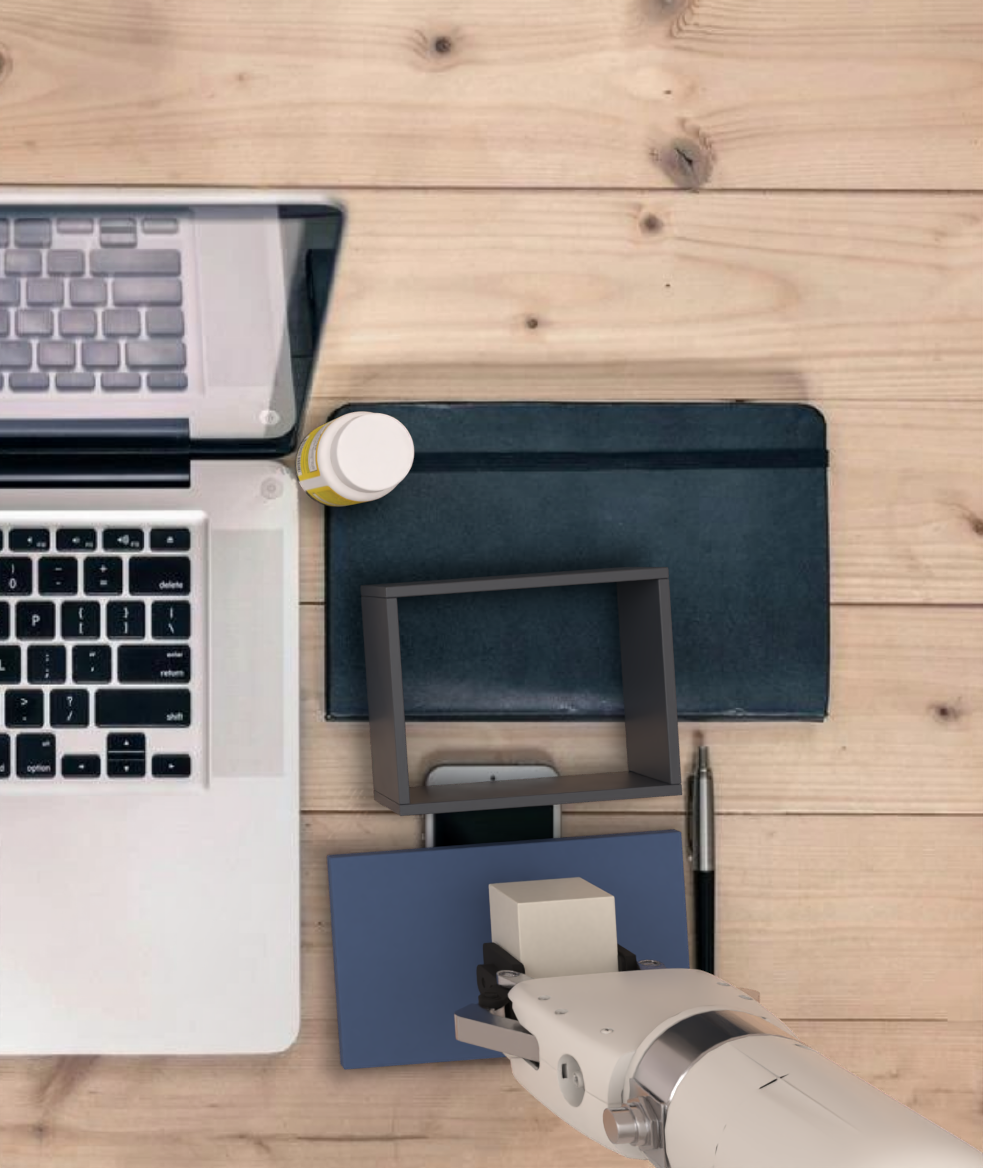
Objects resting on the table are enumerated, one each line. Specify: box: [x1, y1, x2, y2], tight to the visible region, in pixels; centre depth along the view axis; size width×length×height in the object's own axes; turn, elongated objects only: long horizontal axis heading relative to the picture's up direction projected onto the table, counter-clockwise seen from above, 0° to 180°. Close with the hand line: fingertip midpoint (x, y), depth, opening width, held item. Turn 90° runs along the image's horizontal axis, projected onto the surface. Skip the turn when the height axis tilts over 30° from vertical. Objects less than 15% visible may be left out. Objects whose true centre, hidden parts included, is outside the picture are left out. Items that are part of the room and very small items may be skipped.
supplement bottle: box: [294, 411, 415, 508], centre depth 71 cm, size 5×5×8 cm
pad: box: [326, 828, 691, 1071], centre depth 75 cm, size 12×20×2 cm, turn 94°
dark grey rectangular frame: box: [359, 566, 683, 817], centre depth 73 cm, size 12×15×6 cm
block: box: [489, 877, 619, 1061], centre depth 69 cm, size 9×5×4 cm, turn 4°
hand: (544, 967), depth 71 cm, fingers closed on block, 5 cm apart
